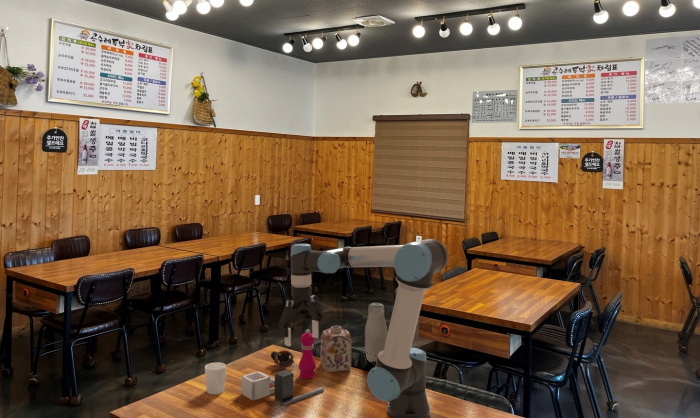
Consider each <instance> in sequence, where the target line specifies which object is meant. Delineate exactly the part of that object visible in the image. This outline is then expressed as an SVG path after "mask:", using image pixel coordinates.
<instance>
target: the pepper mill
mask: <svg viewBox="0 0 700 418" xmlns="http://www.w3.org/2000/svg"><path fill="white" fill-rule="evenodd" d="M299 339H300V343H301V349H302V353H301V358H300V360H299V363H298V369H299V377H300V379H304V380H310V379H314V378H315V377H316V373H315V370H316V368H317V363H316V360H315V358H314V354H313V349H314V343H315V341H316V340H315V339H316V338H314V337H312V332H311V331H310V329H305V332H304V333H302V334H301V336H300V337H299Z"/></svg>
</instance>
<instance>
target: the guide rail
mask: <svg viewBox="0 0 700 418" xmlns="http://www.w3.org/2000/svg"><path fill="white" fill-rule="evenodd" d="M324 390H325V389H324V388H323V387H319V388H317V389H314V390H311V391H308V392H305V393H303V394H300V395H296V396H295V397H294V396H293V398H291V399H288V400H286V401H283V402H279V405H280V407H282V408H283V407H285V406H288V405H290V404H293V403H297V402H299V401H301V400H304V399H307V398H309V397H313V396H315V395H318V394H322V393H324Z"/></svg>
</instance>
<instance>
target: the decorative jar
mask: <svg viewBox="0 0 700 418" xmlns="http://www.w3.org/2000/svg"><path fill="white" fill-rule="evenodd" d="M319 359H320V364H321V366H322V370H323V371H324V372H325V373H334V372H336V373H337V372H348V371H349V372H350V371H351V370H352V338H351V334H350V332H349V330H347V329H344V328H342V326H340V325H333V326H331V327H330V328H327V329H325V330H322V333H321V334H320V358H319Z"/></svg>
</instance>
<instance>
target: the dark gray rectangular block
mask: <svg viewBox="0 0 700 418" xmlns="http://www.w3.org/2000/svg"><path fill="white" fill-rule="evenodd" d="M266 375H267V376H269V377H270V388H273V386H274V387H275V393H274V400H275V401H276V402H277V401H278V402H279V403H280V402H283V401H286V400H288V399H291V398H294V387H293V382H294V377H295V374H294V373H293V372H291V371H289V370H287V369H283V370H279V371H277V372H274V377H273V376H270V375H268V374H266ZM262 378H263V377H261V379H262ZM274 378H275V379H274ZM294 383H295V382H294Z"/></svg>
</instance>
